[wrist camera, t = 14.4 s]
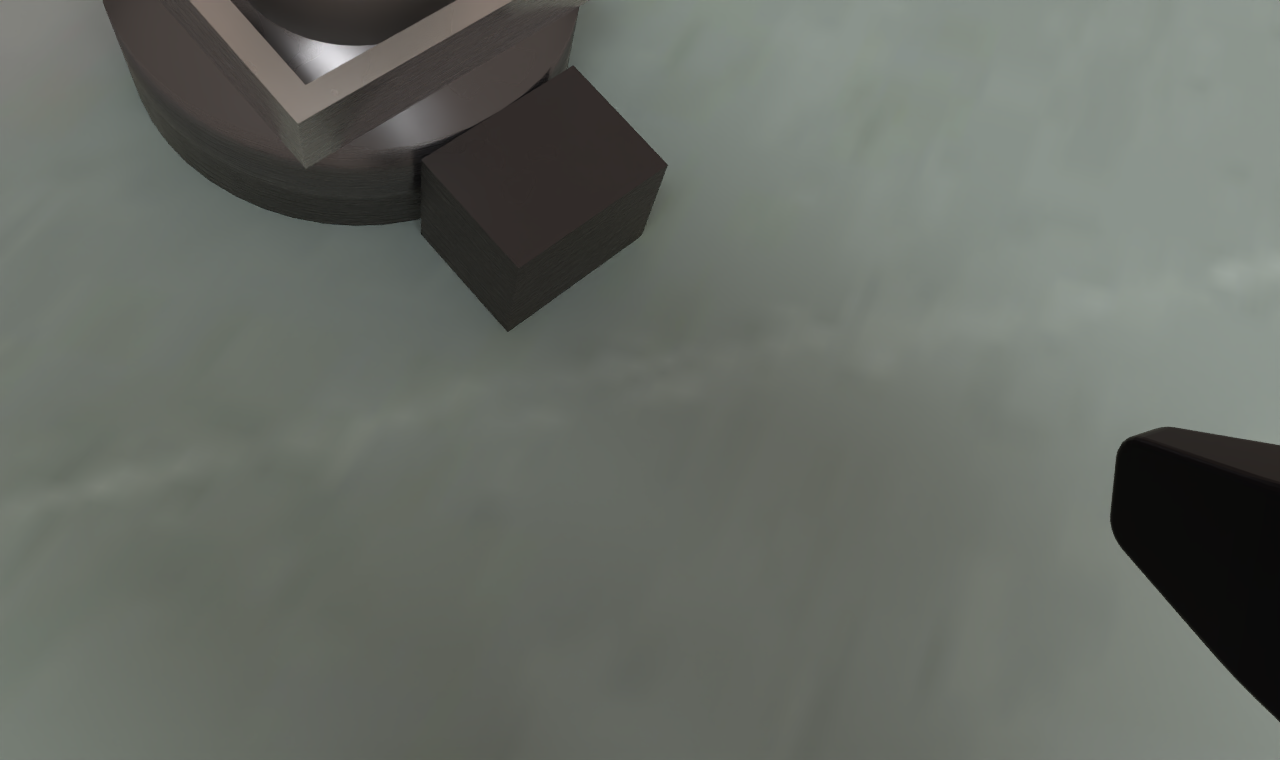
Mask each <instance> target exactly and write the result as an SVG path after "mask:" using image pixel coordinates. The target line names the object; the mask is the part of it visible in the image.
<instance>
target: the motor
mask: <svg viewBox="0 0 1280 760" xmlns="http://www.w3.org/2000/svg"><path fill="white" fill-rule="evenodd" d="M587 1H589V0H455V2H453V3H451V4H449V5H447V6H446V7H444V8H442V9H440V10H439V11H437V12H435V13H433V14H431V15H430V16H428V17H426V18H424V19H422V20H421V21H419V22H417V23H415V24H414V25H412V26H410V27H408V28H406V29H405V30H403V31H401V32H399V33H397V34H396V35H394V36H392V37H390V38H389V39H387V40H385V41H383V42H381V43H380V44H375V45H361V46H352V45H337V44H330V43H324V42H320V41H316V40H312V39H308V38H305V37H303V36H300V35H297V34H294V33H292V32H290V31H288V30H286V29H284V28H282V27H280V26H278V25H276V24H275V23H273V22H272V21H270V20H269V19H267V18H266V17H264V16H263V15H262V14H261V13H260V12H258V11H257V10H256V9H255V8H254V7H253V6H252V5H251V4H250V3H249V2H248V1H247V0H103V3H104V6H105V9H106V11H107V14H108V16H109V19H110V22H111V24H112V27H113V29H114V32H115V34H116V37H117V40H118V42H119V45H120V47H121V50H122V52H123V55H124V57H125V60H126V63H127V65H128V68H129V70H130V73H131V75H132V78H133V80H134V83H135V86H136V88H137V91H138V93H139V96H140V98H141V101H142V102H143V104H144V106H145V108H146V110H147V112H148V114H149V116H150V118H151V120H152V122H153V123H154V125H155V126H156V127H157V129H158V130H159V131H160V133H161V134H162V136H163V137H164V138H165V140H166V141H167V142H168V144H169V145H170V146H171V147H172V148H173V149H174V150H175V151H176V152H177V153H178V154H179V155H180V156H181V157H182V158H183V159H184V160H185V161H186V162H187V163H188V164H189V165H190V166H192V167H193V168H194V169H195V170H197V171H198V172H199V173H201V174H202V175H203V176H204V177H206V178H207V179H208V180H210V181H211V182H213V183H214V184H216V185H218V186H219V187H221V188H223V189H224V190H226V191H228V192H229V193H231V194H233V195H235V196H236V197H239V198H241V199H243V200H245V201H248V202H250V203H252V204H254V205H257V206H259V207H261V208H264V209H267V210H270V211H273V212H277V213H280V214H283V215H286V216H290V217H293V218H298V219H303V220H309V221H314V222H319V223H327V224H341V225H379V224H390V223H396V222H403V221H409V220H415V219H419V218H421V234H422V235H423V237H424V238H425V239H426V240H427V241H428V242H429V243H430V244H431V246H432V247H433V248H434V249H435V250H436V251H437V252H438V254H439V255H440V256H441V257H442V258H443V259H444V260H445V261H446V263H447V264H448V265H449V266H450V267H451V268H452V269H453V271H454V272H455V273H456V274H457V275H458V276H459V277H460V278H461V280H462V281H463V282H464V283H465V284H466V285H467V286H468V287H469V289H470V290H471V291H472V292H473V293H474V294H475V295H476V297H477V298H478V299H479V300H480V301H481V302H482V303H483V304H484V306H485V307H486V308H487V309H488V310H489V311H490V312H491V313H492V315H493V316H494V317H495V318H496V319H497V320H498V321H499V323H500V324H501V325H502V326H503V327H504V328H505V329H506V330H507V332H508V331H510V330H511V329H512V328H514V327H515V326H517V325H518V324H519V323H521V322H522V321H523V320H525V319H526V318H528V317H529V316H530V315H532V314H533V313H535V312H536V311H537V310H539V309H540V308H542V307H543V306H544V305H546V304H547V303H548V302H550V301H551V300H553V299H554V298H555V297H557V296H558V295H560V294H561V293H562V292H564V291H565V290H567V289H568V288H569V287H571V286H572V285H573V284H575V283H576V282H578V281H579V280H580V279H582V278H583V277H585V276H586V275H587V274H589V273H590V272H592V271H593V270H594V269H596V268H597V267H598V266H600V265H601V264H603V263H604V262H605V261H607V260H608V259H610V258H611V257H612V256H614V255H615V254H617V253H618V252H619V251H621V250H622V249H623V248H625V247H626V246H628V245H629V244H630V243H632V242H633V241H635V240H636V239H637V238H639V237H640V236H641V235H642V232H643V230H644V227H645V224H646V222H647V219H648V216H649V214H650V211H651V208H652V206H653V203H654V200H655V198H656V195H657V192H658V190H659V187H660V184H661V182H662V179H663V176H664V174H665V171H666V168H667V166H668V165H667V164H666V163H665V161H664V160H663V159H662V158H661V157H660V156H659V155H658V154H657V153H656V152H655V151H654V150H653V149H652V148H651V147H650V146H649V145H648V144H647V143H646V141H645V140H644V139H643V138H642V137H641V136H640V135H639V134H638V133H637V132H636V131H635V130H634V129H633V128H632V127H631V126H630V125H629V124H628V123H627V121H626V120H625V119H624V118H623V117H622V116H621V115H620V114H619V113H618V112H617V111H616V110H615V109H614V108H613V107H612V106H611V105H610V104H609V103H608V101H607V100H606V99H605V98H604V97H603V96H602V95H601V94H600V93H599V92H598V91H597V90H596V89H595V88H594V87H593V86H592V85H591V84H590V82H589V81H588V80H587V79H586V78H585V77H584V76H583V75H582V74H581V73H580V72H579V71H578V70H577V69H576V68H575V67H574V66H571V67H570V68H568V69H567V67H568V62H569V57H570V51H571V46H572V41H573V36H574V31H575V25H576V20H577V15H578V10H579V6H581V5H582V4H584V3H586V2H587Z"/></svg>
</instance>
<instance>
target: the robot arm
mask: <svg viewBox="0 0 1280 760" xmlns="http://www.w3.org/2000/svg"><path fill="white" fill-rule="evenodd" d="M1110 522H1111V528H1112V531H1113V534H1114V537H1115V539H1116V540H1117V542H1118V544H1119V545H1120V547H1121V548H1122V549H1123V551H1124V552H1125V553H1126V554H1127V555H1128V556H1129V557H1130V559H1131V560H1132V561H1133V562H1134V563H1135V564H1136V566H1137V567H1138V568H1139V569H1140V570H1141V571H1142V572H1143V574H1144V575H1145V576H1146V577H1147V578H1148V579H1149V581H1150V582H1151V583H1152V584H1153V585H1154V586H1155V587H1156V589H1157V590H1158V591H1159V592H1160V593H1161V594H1162V595H1163V597H1164V598H1165V599H1166V600H1167V601H1168V602H1169V604H1170V605H1171V606H1172V607H1173V608H1174V609H1175V610H1176V612H1177V613H1178V614H1179V615H1180V616H1181V617H1182V619H1183V620H1184V621H1185V622H1186V623H1187V624H1188V625H1189V627H1190V628H1191V629H1192V630H1193V631H1194V632H1195V634H1196V635H1197V636H1198V637H1199V638H1200V639H1201V640H1202V642H1203V643H1204V644H1205V645H1206V646H1207V647H1208V648H1209V650H1210V651H1211V652H1212V653H1213V654H1214V655H1215V657H1216V658H1217V659H1218V660H1219V661H1220V662H1221V663H1222V664H1223V665H1224V666H1225V668H1226V669H1227V670H1228V671H1229V672H1230V673H1231V674H1232V675H1233V676H1234V677H1235V678H1236V679H1237V680H1238V681H1239V683H1240V684H1241V685H1242V686H1243V687H1244V688H1245V689H1246V690H1247V691H1248V692H1249V693H1250V694H1251V695H1252V696H1253V697H1254V698H1255V699H1256V700H1257V701H1258V702H1259V703H1261V704H1262V705H1263V706H1264V707H1265V708H1266V709H1267V710H1268V711H1269V712H1270V713H1271V714H1272V715H1273V716H1274V717H1275V718H1276V719H1277V720H1278V721H1279V722H1280V445H1275V444H1269V443H1263V442H1257V441H1251V440H1246V439H1240V438H1234V437H1228V436H1222V435H1216V434H1210V433H1204V432H1199V431H1193V430H1187V429H1181V428H1175V427H1160V428H1157V429H1153V430H1150V431H1147V432H1144V433H1141V434H1138V435H1135V436H1132V437H1129V438H1128V439H1126V440H1125V441H1124V442H1122V444H1121V446H1120V448H1119V449H1118V451H1117V456H1116V464H1115V474H1114V483H1113V493H1112V503H1111V513H1110Z"/></svg>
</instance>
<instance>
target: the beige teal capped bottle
mask: <svg viewBox="0 0 1280 760" xmlns="http://www.w3.org/2000/svg"><path fill="white" fill-rule="evenodd" d="M247 1H248V2H249V3H250V4H251V5H252V6H253V7H254V8H255V9H256V10H257V11H258V12H260V13H261V14H262V15H263V16H264V17H266V18H267V19H269V20H270V21H272V22H273V23H275V24H276V25H278V26H280V27H282V28H284V29H286V30H288V31H290V32H292V33H294V34H297V35H300V36H303V37H305V38H308V39H312V40H316V41H320V42H324V43H330V44H337V45H352V46H361V45H375V44H380V43H381V42H383V41H385V40H387V39H389V38H390V37H392V36H394V35H396V34H397V33H399V32H401V31H403V30H405V29H406V28H408V27H410V26H412V25H414V24H415V23H417V22H419V21H421V20H422V19H424V18H426V17H428V16H430V15H431V14H433V13H435V12H437V11H439V10H440V9H442V8H444V7H446V6H447V5H449V4H451V3H453V2H455V0H247Z"/></svg>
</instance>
